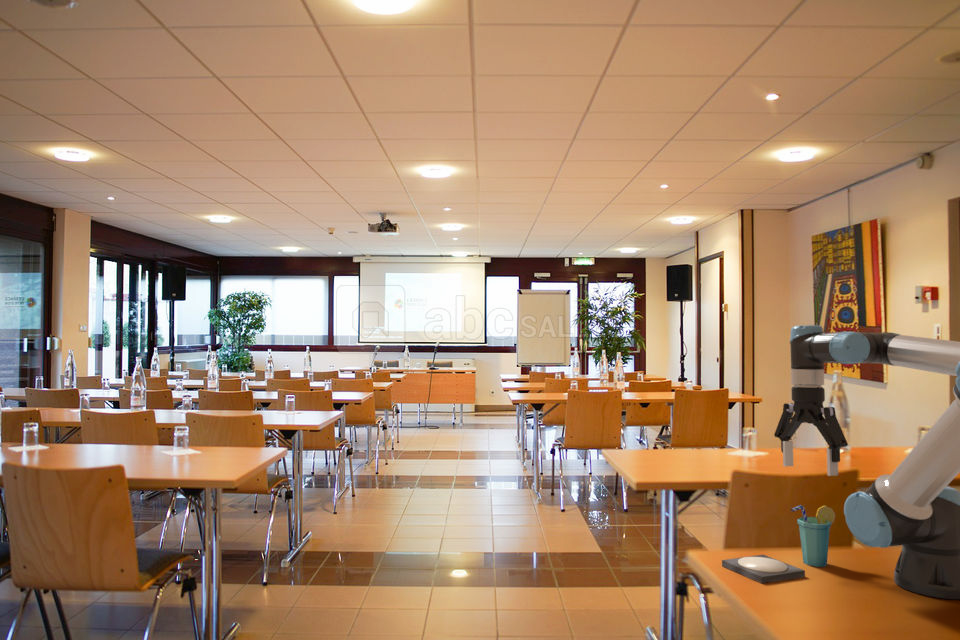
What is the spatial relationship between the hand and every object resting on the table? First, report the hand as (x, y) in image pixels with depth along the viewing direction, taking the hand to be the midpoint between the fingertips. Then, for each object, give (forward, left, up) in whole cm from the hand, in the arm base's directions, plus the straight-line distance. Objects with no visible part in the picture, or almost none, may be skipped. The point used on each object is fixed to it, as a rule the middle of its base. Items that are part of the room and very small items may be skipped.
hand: (809, 470), depth 164 cm
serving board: (0, +16, -23) cm, 28 cm away
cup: (0, 0, -23) cm, 23 cm away
